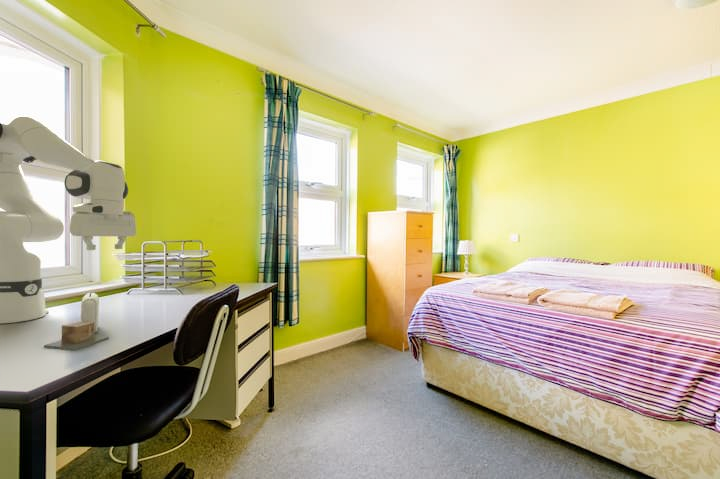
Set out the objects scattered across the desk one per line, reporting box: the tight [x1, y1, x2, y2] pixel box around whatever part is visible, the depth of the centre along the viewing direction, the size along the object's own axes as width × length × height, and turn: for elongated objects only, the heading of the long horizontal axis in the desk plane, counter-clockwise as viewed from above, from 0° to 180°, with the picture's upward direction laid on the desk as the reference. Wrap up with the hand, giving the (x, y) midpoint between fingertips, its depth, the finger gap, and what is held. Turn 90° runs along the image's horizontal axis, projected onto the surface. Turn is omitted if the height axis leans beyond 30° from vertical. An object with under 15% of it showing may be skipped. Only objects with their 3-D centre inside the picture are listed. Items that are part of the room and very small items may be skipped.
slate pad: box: [43, 334, 110, 351], centre depth 90 cm, size 10×10×1 cm
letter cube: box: [61, 320, 95, 344], centre depth 90 cm, size 5×5×5 cm
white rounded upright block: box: [80, 292, 100, 334], centre depth 101 cm, size 10×4×12 cm, turn 39°
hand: (105, 249), depth 104 cm, fingers open, 8 cm apart
